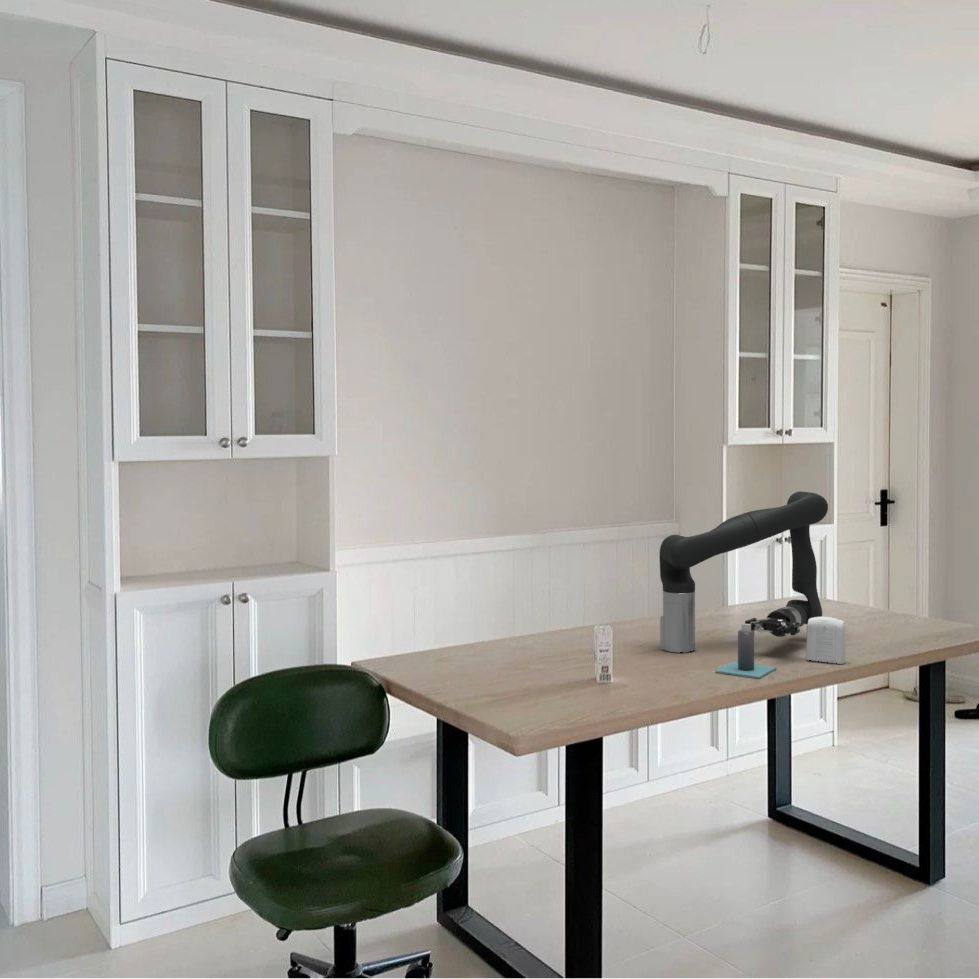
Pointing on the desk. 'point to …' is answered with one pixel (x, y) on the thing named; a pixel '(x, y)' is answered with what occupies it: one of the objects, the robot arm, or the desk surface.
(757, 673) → the teal mat
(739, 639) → the grey capped bottle
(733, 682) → the desk surface
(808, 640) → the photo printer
